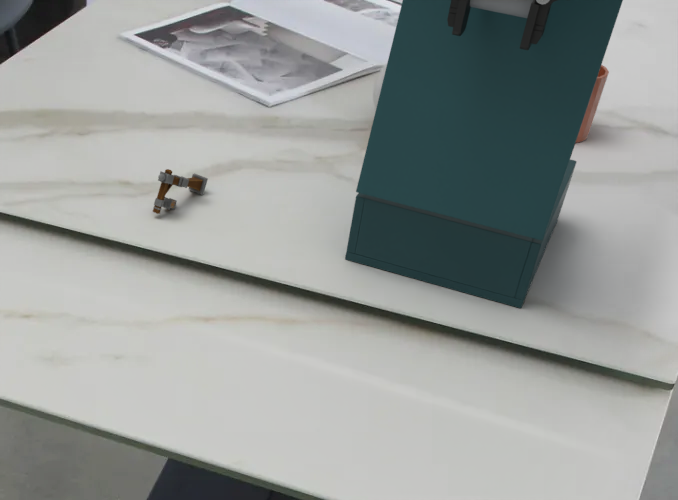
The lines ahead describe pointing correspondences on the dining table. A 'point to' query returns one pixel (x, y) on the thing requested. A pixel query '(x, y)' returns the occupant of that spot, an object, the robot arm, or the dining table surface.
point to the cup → (593, 104)
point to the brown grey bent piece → (168, 180)
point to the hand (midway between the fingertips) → (491, 38)
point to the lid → (484, 110)
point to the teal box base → (448, 248)
